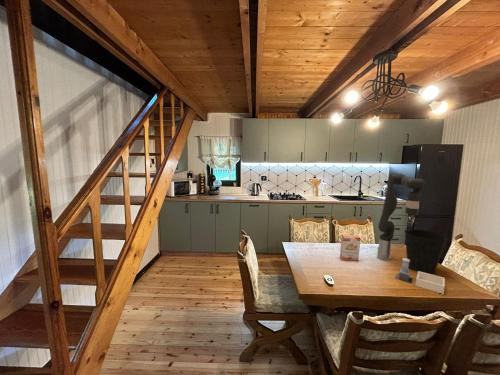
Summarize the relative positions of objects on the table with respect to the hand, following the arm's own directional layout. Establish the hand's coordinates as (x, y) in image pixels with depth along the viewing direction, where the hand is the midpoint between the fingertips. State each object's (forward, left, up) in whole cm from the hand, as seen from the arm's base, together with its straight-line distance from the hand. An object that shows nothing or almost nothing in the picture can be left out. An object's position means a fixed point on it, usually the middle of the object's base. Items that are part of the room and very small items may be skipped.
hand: (409, 229), depth 170 cm
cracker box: (-41, +8, -37) cm, 56 cm away
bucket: (+8, +29, -37) cm, 48 cm away
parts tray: (+15, +1, -37) cm, 40 cm away
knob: (0, 0, -36) cm, 36 cm away
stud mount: (0, 0, -37) cm, 37 cm away
